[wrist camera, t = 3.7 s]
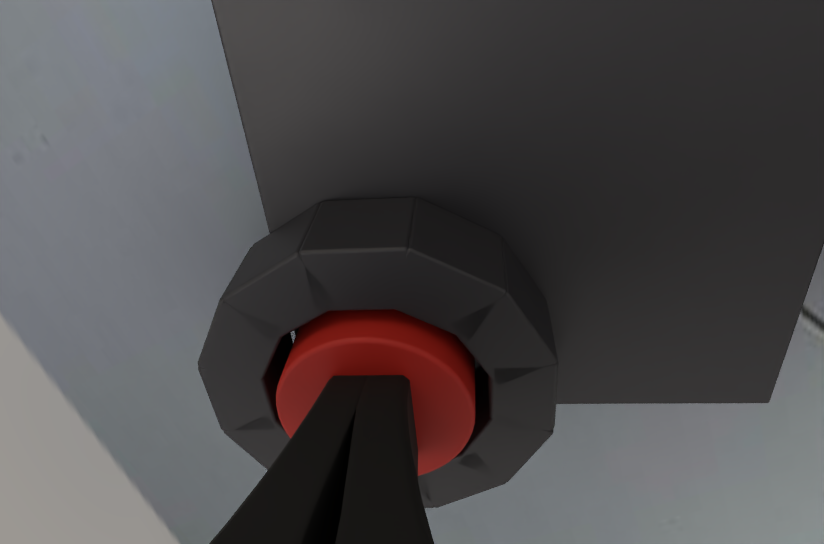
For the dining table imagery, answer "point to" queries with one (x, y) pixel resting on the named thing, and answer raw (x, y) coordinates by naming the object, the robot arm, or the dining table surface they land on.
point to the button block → (527, 200)
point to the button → (386, 373)
